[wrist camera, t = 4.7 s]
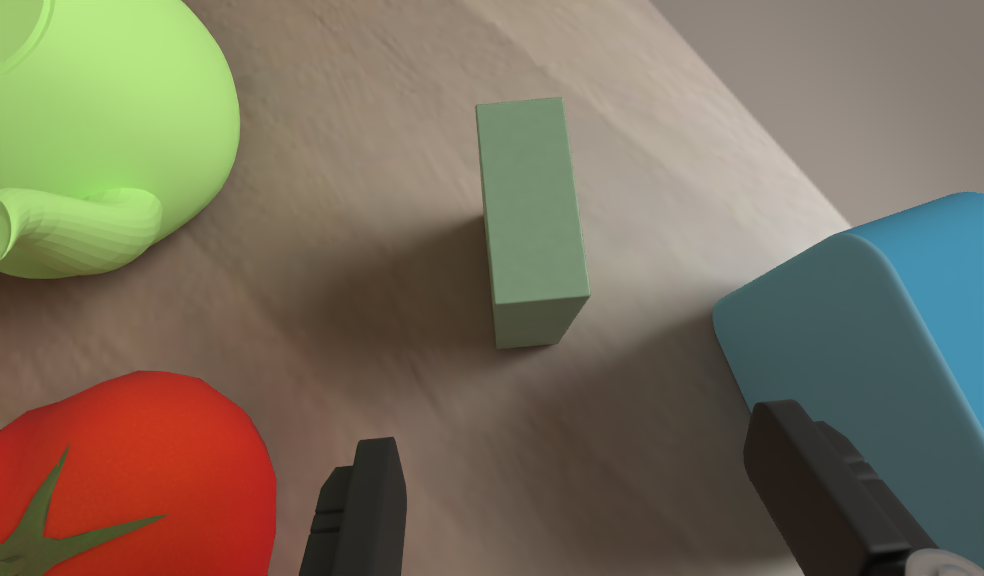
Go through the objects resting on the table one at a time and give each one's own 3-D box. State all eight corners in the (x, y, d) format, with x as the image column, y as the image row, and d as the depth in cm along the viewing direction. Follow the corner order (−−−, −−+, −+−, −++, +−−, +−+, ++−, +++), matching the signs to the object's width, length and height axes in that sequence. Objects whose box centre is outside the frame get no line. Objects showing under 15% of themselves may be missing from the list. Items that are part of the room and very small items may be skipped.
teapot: (353, 260, 28) (229, 120, 15) (77, 425, 26) (-332, 424, 13) (173, -38, 32) (-37, -337, 20) (-71, 84, 30) (-478, -160, 18)
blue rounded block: (907, 526, 24) (1283, 619, 13) (815, 561, 24) (1112, 690, 12) (785, 279, 27) (1000, 169, 15) (701, 308, 27) (856, 218, 15)
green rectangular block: (541, 208, 28) (562, 93, 18) (557, 343, 26) (591, 295, 17) (483, 213, 28) (474, 101, 18) (496, 349, 26) (494, 304, 17)
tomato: (8, 617, 24) (-340, 754, 14) (153, 347, 27) (-51, 301, 17) (235, 726, 23) (32, 958, 13) (361, 432, 26) (274, 437, 16)
